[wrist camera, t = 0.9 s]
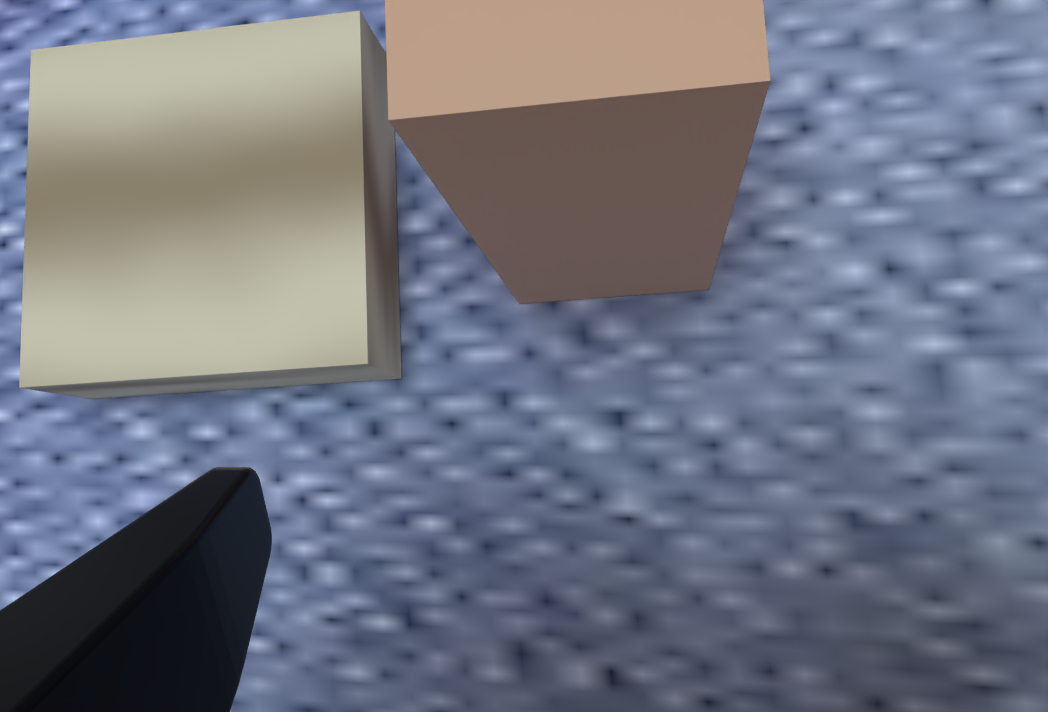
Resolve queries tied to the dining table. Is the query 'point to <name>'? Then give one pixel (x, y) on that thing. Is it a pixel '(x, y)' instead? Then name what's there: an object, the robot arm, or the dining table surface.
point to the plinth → (211, 212)
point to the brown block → (583, 132)
